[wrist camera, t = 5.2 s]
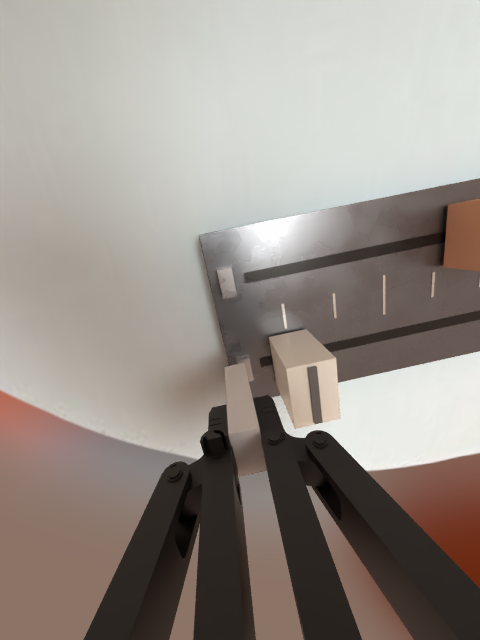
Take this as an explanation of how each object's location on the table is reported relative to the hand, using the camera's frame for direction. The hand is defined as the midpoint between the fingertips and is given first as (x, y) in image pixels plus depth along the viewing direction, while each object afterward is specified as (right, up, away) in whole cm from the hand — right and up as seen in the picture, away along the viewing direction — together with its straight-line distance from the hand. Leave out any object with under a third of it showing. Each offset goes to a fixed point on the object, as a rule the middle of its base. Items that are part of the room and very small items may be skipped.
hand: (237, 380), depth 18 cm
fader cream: (+4, +1, +2) cm, 5 cm away
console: (+11, +7, +3) cm, 14 cm away
